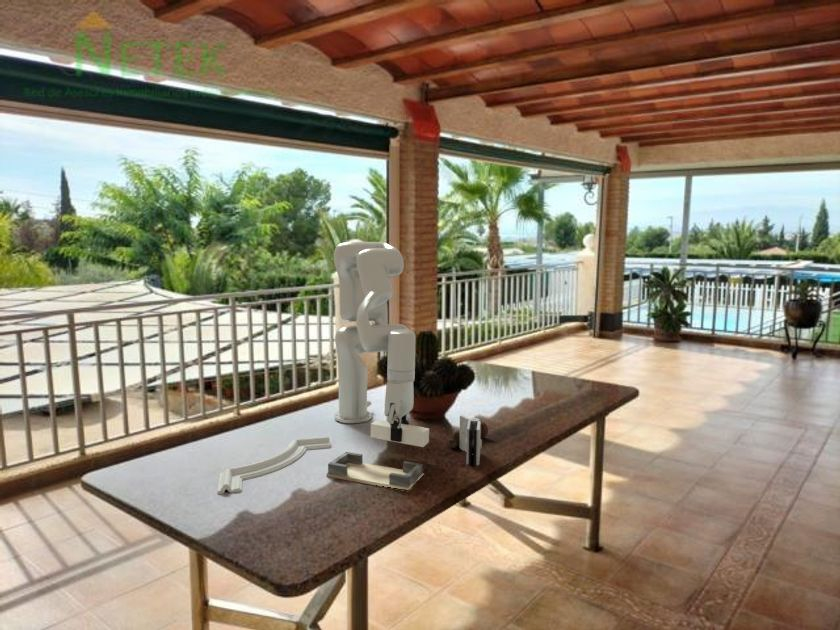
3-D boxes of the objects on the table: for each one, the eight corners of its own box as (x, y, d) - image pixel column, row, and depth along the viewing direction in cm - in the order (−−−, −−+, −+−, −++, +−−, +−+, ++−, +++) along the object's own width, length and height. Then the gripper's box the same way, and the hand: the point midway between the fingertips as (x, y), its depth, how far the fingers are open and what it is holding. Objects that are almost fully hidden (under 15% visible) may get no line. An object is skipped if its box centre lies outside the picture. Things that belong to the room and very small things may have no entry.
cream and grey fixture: (345, 462, 162) (345, 451, 161) (423, 476, 153) (424, 463, 153) (326, 476, 153) (326, 464, 152) (408, 491, 144) (408, 478, 144)
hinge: (458, 448, 174) (459, 415, 172) (477, 448, 174) (477, 414, 173) (466, 466, 160) (467, 430, 159) (486, 466, 161) (487, 430, 159)
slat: (376, 432, 171) (377, 419, 170) (428, 442, 165) (429, 428, 164) (370, 437, 167) (370, 423, 166) (423, 447, 161) (423, 433, 160)
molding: (229, 500, 140) (229, 488, 140) (194, 488, 146) (193, 477, 146) (338, 445, 177) (338, 436, 176) (307, 438, 183) (306, 429, 182)
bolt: (449, 454, 174) (479, 440, 185) (461, 450, 171) (491, 435, 182) (441, 436, 175) (472, 422, 186) (453, 431, 172) (483, 417, 183)
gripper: (400, 366, 172) (399, 426, 175) (374, 380, 156) (374, 446, 159) (425, 369, 169) (423, 430, 172) (400, 384, 154) (399, 451, 157)
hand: (399, 437), depth 166 cm, fingers closed on slat, 4 cm apart
